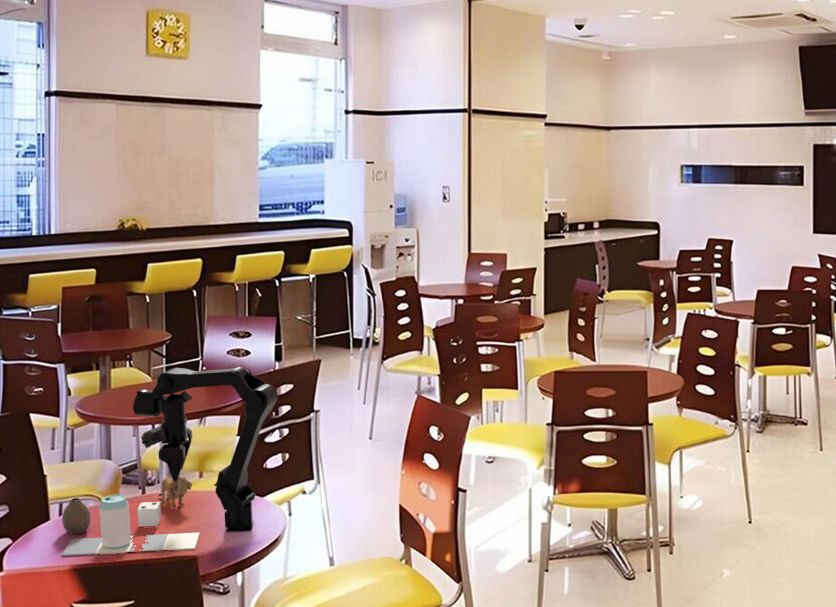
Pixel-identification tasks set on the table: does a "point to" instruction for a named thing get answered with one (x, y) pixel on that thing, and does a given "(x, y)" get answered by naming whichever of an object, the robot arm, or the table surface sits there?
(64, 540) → the table surface
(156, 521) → the die
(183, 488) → the lion figurine
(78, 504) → the vase
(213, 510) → the table surface
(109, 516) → the can
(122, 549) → the board
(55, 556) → the table surface
